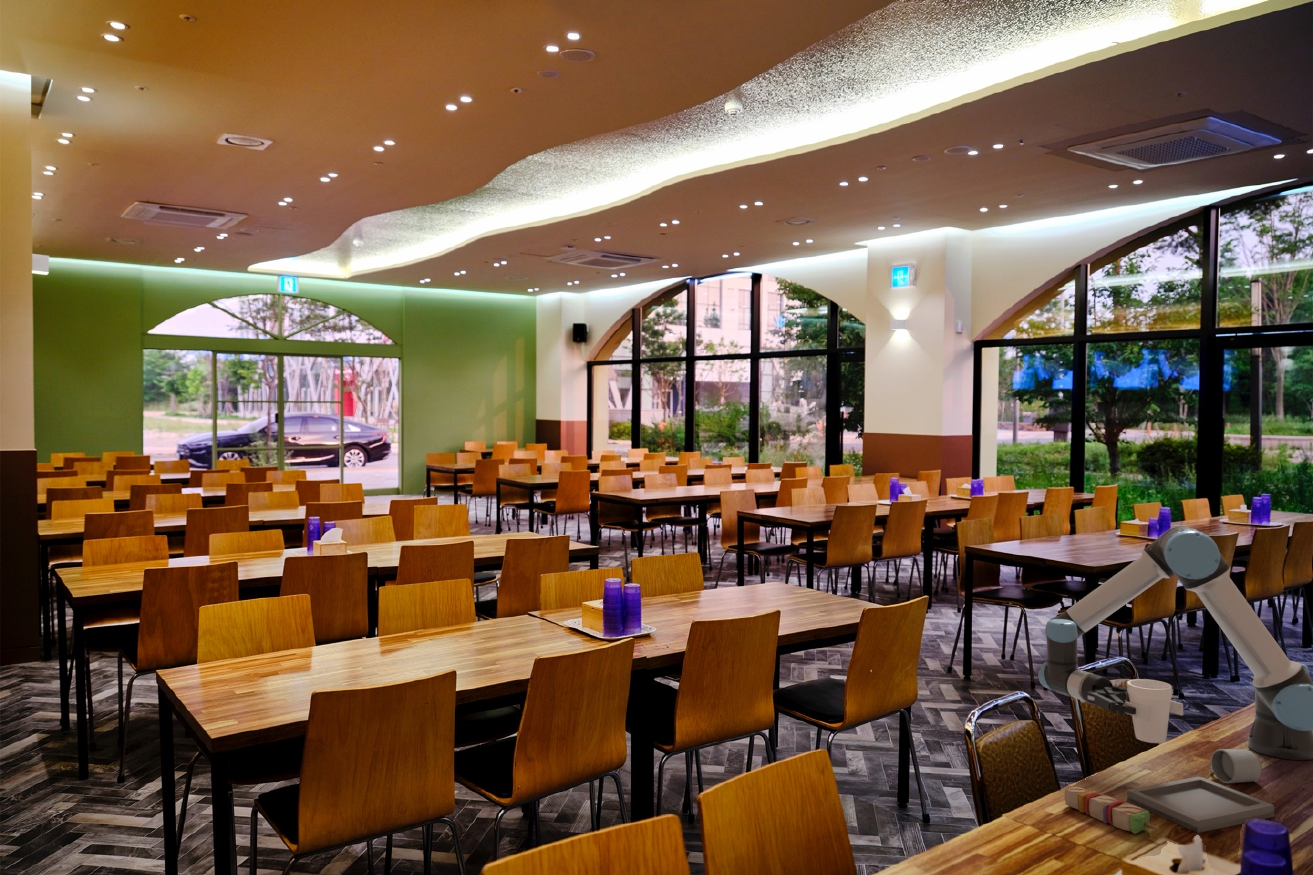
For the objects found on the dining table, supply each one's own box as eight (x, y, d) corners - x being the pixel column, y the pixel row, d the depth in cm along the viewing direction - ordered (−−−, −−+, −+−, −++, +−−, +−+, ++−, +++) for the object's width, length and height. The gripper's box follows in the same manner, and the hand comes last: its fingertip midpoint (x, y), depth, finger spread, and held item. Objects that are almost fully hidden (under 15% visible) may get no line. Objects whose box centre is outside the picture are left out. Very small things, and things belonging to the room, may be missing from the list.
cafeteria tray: (1199, 786, 212) (1199, 776, 212) (1274, 816, 195) (1273, 804, 195) (1126, 800, 205) (1126, 789, 205) (1197, 832, 188) (1197, 820, 188)
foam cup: (1173, 735, 218) (1172, 681, 218) (1173, 747, 210) (1171, 691, 210) (1129, 730, 223) (1128, 677, 223) (1127, 741, 215) (1125, 686, 215)
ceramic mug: (1265, 785, 212) (1264, 752, 212) (1235, 788, 211) (1234, 755, 211) (1229, 770, 223) (1228, 738, 223) (1200, 772, 221) (1199, 741, 221)
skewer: (1061, 808, 202) (1060, 786, 202) (1080, 802, 205) (1080, 780, 205) (1148, 844, 183) (1148, 819, 183) (1168, 837, 186) (1168, 813, 186)
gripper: (1124, 697, 237) (1201, 722, 216) (1057, 707, 230) (1129, 734, 209) (1123, 669, 237) (1200, 690, 216) (1056, 678, 230) (1128, 701, 209)
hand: (1165, 712), depth 212 cm, fingers closed on foam cup, 9 cm apart
